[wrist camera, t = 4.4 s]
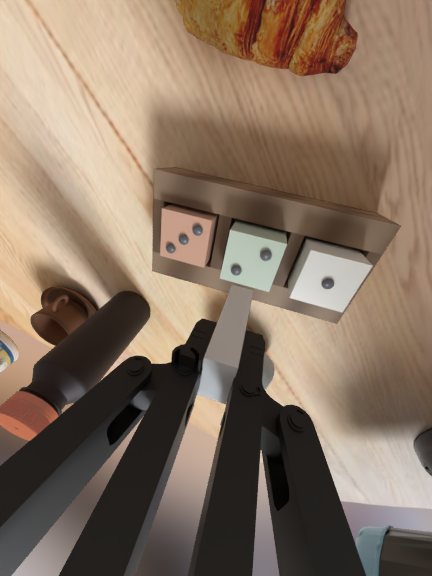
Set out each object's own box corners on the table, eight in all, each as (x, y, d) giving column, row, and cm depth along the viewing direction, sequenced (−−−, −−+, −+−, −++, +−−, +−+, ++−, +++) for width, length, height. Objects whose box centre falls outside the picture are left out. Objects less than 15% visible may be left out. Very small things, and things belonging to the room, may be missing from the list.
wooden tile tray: (377, 213, 22) (401, 226, 18) (327, 299, 28) (336, 323, 24) (175, 167, 24) (153, 169, 20) (169, 255, 30) (152, 271, 26)
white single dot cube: (358, 250, 20) (373, 266, 17) (333, 293, 23) (342, 313, 20) (306, 237, 21) (311, 250, 18) (287, 280, 23) (289, 299, 20)
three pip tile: (220, 212, 23) (211, 221, 20) (212, 255, 25) (203, 268, 22) (176, 202, 23) (160, 208, 20) (173, 244, 26) (159, 256, 23)
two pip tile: (285, 232, 21) (287, 244, 18) (269, 275, 24) (268, 293, 21) (236, 220, 22) (229, 230, 18) (226, 264, 24) (219, 279, 21)
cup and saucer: (40, 277, 39) (4, 295, 34) (97, 287, 37) (68, 308, 32) (62, 327, 45) (35, 348, 40) (112, 338, 43) (90, 362, 38)
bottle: (109, 305, 38) (-20, 418, 21) (124, 282, 35) (-16, 396, 18) (140, 328, 39) (41, 452, 23) (158, 308, 36) (55, 438, 19)
